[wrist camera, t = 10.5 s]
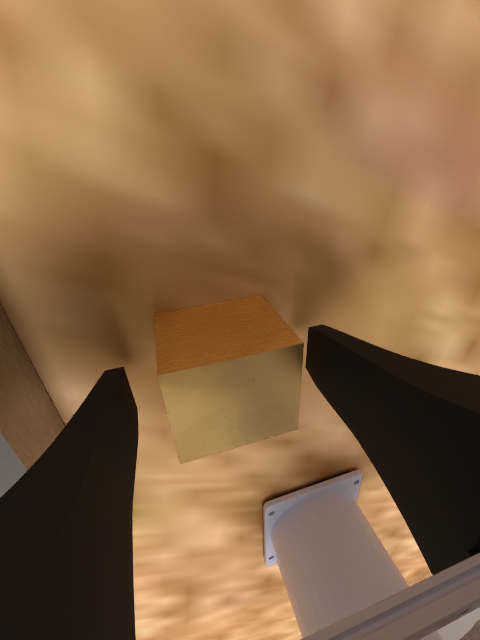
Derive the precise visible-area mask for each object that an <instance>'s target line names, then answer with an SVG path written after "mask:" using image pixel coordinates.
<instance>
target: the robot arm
mask: <svg viewBox="0 0 480 640" xmlns="http://www.w3.org/2000/svg"><path fill="white" fill-rule="evenodd" d="M306 369H307V371H308V372H309V374H310V376H311V378H312V380H313V381H314V383H315V385H316V386H317V388H318V389H319V390H320V392H321V393H322V394H323V396H324V397H325V398H326V400H327V401H328V402H329V403H330V405H331V406H332V407H333V409H334V410H335V411H336V412H337V414H338V415H339V416H340V418H341V419H342V420H343V421H344V423H345V424H346V425H347V426H348V428H349V429H350V430H351V432H352V433H353V434H354V436H355V437H356V439H357V440H358V442H359V443H360V445H361V446H362V448H363V449H364V451H365V453H366V454H367V456H368V457H369V459H370V461H371V462H372V464H373V465H374V467H375V469H376V470H377V472H378V474H379V475H380V477H381V479H382V480H383V482H384V484H385V486H386V487H387V489H388V491H389V492H390V494H391V496H392V498H393V500H394V501H395V503H396V505H397V507H398V509H399V511H400V512H401V514H402V516H403V518H404V520H405V521H406V523H407V525H408V527H409V529H410V531H411V533H412V535H413V537H414V539H415V541H416V543H417V545H418V547H419V549H420V551H421V552H422V555H423V557H424V559H425V561H426V563H427V565H428V567H429V569H430V571H431V573H432V574H433V576H431V577H429V578H427V579H424V580H422V581H420V582H418V583H416V584H414V585H412V586H410V587H409V585H408V584H407V582H406V581H405V579H404V577H403V576H402V574H401V573H400V571H399V569H398V568H397V566H396V565H395V563H394V562H393V560H392V558H391V557H390V555H389V554H388V552H387V550H386V549H385V547H384V546H383V544H382V542H381V541H380V539H379V538H378V536H377V535H376V533H375V531H374V530H373V528H372V527H371V525H370V523H369V522H368V520H367V519H366V517H365V515H364V514H363V512H362V511H361V509H360V508H359V506H358V504H357V503H356V499H357V496H358V492H359V489H360V485H361V481H362V478H363V474H362V473H361V471H360V470H355V471H352V472H349V473H346V474H343V475H340V476H338V477H335V478H332V479H329V480H326V481H323V482H321V483H318V484H315V485H312V486H309V487H307V488H304V489H301V490H298V491H295V492H292V493H290V494H287V495H284V496H281V497H278V498H275V499H273V500H270V501H268V502H266V503H265V504H264V506H263V519H264V560H265V564H266V565H267V566H271V565H273V564H276V563H278V566H279V569H280V572H281V575H282V578H283V581H284V584H285V587H286V590H287V593H288V596H289V599H290V602H291V605H292V608H293V611H294V614H295V617H296V620H297V623H298V626H299V629H300V632H301V635H302V638H303V639H301V640H442V638H441V636H440V635H439V633H438V631H437V630H438V629H440V628H442V627H444V626H446V625H447V624H449V623H451V622H453V621H455V620H457V619H459V618H460V617H462V616H464V615H466V614H467V613H470V612H471V611H473V610H475V609H477V608H479V607H480V376H479V375H474V374H469V373H465V372H460V371H456V370H451V369H447V368H443V367H439V366H435V365H432V364H428V363H425V362H422V361H418V360H415V359H411V358H408V357H405V356H402V355H399V354H397V353H394V352H391V351H388V350H385V349H383V348H380V347H378V346H375V345H373V344H370V343H368V342H365V341H363V340H360V339H358V338H355V337H353V336H351V335H348V334H346V333H343V332H341V331H338V330H336V329H333V328H331V327H328V326H325V325H318V326H313V327H309V330H308V342H307V355H306ZM137 447H138V412H137V406H136V403H135V400H134V397H133V394H132V391H131V388H130V385H129V382H128V379H127V376H126V373H125V370H124V367H120V368H115V369H110V370H106V371H104V373H103V374H102V376H101V377H100V378H99V380H98V381H97V383H96V384H95V386H94V387H93V389H92V390H91V392H90V393H89V394H88V396H87V397H86V399H85V400H84V402H83V403H82V404H81V406H80V407H79V409H78V410H77V411H76V413H75V414H74V415H73V417H72V418H71V420H70V421H69V422H68V423H67V425H66V426H65V427H64V429H63V430H62V431H61V432H60V434H59V435H58V436H57V437H56V439H55V440H54V441H53V442H52V444H51V445H50V446H49V447H48V448H47V449H46V451H45V452H44V453H43V454H42V455H41V456H40V457H39V459H38V460H37V461H36V462H35V463H34V464H33V465H32V466H31V467H30V468H29V469H28V470H27V471H26V473H25V474H24V475H23V476H22V477H21V478H20V479H19V480H18V481H17V482H16V483H15V484H14V485H13V486H12V487H11V488H10V489H9V490H8V491H7V492H6V493H5V494H4V495H3V496H1V497H0V640H136V639H135V614H134V587H133V538H132V510H133V493H134V482H135V470H136V459H137ZM460 640H480V620H479V621H477V622H476V623H475V625H474V626H473V628H472V629H471V630H470V631H469V632H468V633H467V634H466V635H464V637H462V638H461V639H460Z"/></svg>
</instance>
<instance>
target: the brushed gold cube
mask: <svg viewBox="0 0 480 640" xmlns="http://www.w3.org/2000/svg"><path fill="white" fill-rule="evenodd" d="M154 323H155V343H156V363H157V377H158V381H159V385H160V389H161V392H162V396H163V400H164V404H165V408H166V412H167V416H168V419H169V423H170V427H171V431H172V435H173V439H174V442H175V446H176V450H177V454H178V458H179V462H180V464H183V463H186V462H189V461H193V460H196V459H199V458H203V457H206V456H210V455H213V454H216V453H220V452H223V451H226V450H230V449H233V448H236V447H240V446H243V445H247V444H250V443H253V442H257V441H260V440H263V439H267V438H270V437H273V436H277V435H280V434H284V433H287V432H290V431H294V430H297V429H298V419H299V405H300V390H301V376H302V361H303V347H304V343H303V342H302V341H301V339H300V338H299V337H298V336H297V335H296V334H295V333H294V332H293V331H292V329H291V328H290V327H289V326H288V325H287V324H286V323H285V322H284V321H283V319H282V318H281V317H280V316H279V315H278V314H277V313H276V312H275V311H274V309H273V308H272V307H271V306H270V305H269V304H268V303H267V302H266V301H265V299H264V298H263V297H262V296H261V295H260V296H254V297H248V298H243V299H237V300H231V301H226V302H220V303H214V304H209V305H203V306H197V307H192V308H186V309H180V310H175V311H169V312H164V313H158V314H154Z"/></svg>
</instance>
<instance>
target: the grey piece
mask: <svg viewBox="0 0 480 640" xmlns="http://www.w3.org/2000/svg"><path fill="white" fill-rule="evenodd" d="M64 427H65V425H64V423H63V421H62V420H61V418H60V416H59V414H58V412H57V410H56V408H55V406H54V405H53V403H52V401H51V399H50V397H49V395H48V393H47V391H46V390H45V388H44V386H43V384H42V382H41V380H40V378H39V376H38V374H37V373H36V371H35V369H34V367H33V365H32V363H31V361H30V359H29V358H28V356H27V354H26V352H25V350H24V348H23V346H22V344H21V343H20V341H19V339H18V337H17V335H16V333H15V331H14V329H13V328H12V326H11V324H10V322H9V320H8V318H7V316H6V314H5V313H4V311H3V309H2V307H1V305H0V497H1V496H3V495H4V494H5V493H6V492H7V491H8V490H9V489H10V488H11V487H12V486H13V485H14V484H15V483H16V482H17V481H18V480H19V479H20V478H21V477H22V476H23V475H24V474H25V473H26V471H27V470H28V469H29V468H30V467H31V466H32V465H33V464H34V463H35V462H36V461H37V460H38V459H39V457H40V456H41V455H42V454H43V453H44V452H45V451H46V449H47V448H48V447H49V446H50V445H51V444H52V442H53V441H54V440H55V439H56V437H57V436H58V435H59V434H60V432H61V431H62V430H63V429H64Z"/></svg>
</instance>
